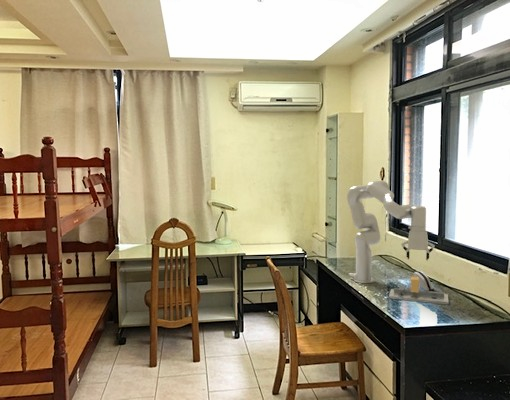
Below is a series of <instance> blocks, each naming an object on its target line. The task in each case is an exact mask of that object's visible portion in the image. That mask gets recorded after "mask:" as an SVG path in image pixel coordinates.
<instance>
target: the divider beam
mask: <svg viewBox="0 0 510 400" xmlns="http://www.w3.org/2000/svg"><path fill="white" fill-rule="evenodd" d="M393 289H394V292H397V293H399V294H400V295H403V294H404V293H407V294H414V292H411V288H409V289H408V288H405V285H403V286H402V285H399V287H394V288H393ZM415 294H417V295H427V296H437V297H444V294H445V292H441V291H432V290H431V291H430V290H428V291H427V290H420V289H419V292H418V293H416V292H415Z"/></svg>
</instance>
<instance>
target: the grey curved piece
mask: <svg viewBox="0 0 510 400" xmlns="http://www.w3.org/2000/svg"><path fill="white" fill-rule="evenodd" d="M413 276H415V277H419V287H421V288H423V289H424V291H430V290H433V291H436V289H435V286H433V285H432V282H431V280H430V277H429V276H427V275H426V273H425V272H423V271H422V270H417V271H415V272H413Z"/></svg>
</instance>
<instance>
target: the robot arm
mask: <svg viewBox="0 0 510 400" xmlns="http://www.w3.org/2000/svg"><path fill="white" fill-rule="evenodd" d="M372 198H375V199H376V200H377V201H378V202H380V203H382V204H383V208H384V209H385V211H386V212H387V213H388V214H389V215H390V216H392V217H394V218H395V219H398V220H405V219H410V218H411V219H410V225H409V226H408V229H409V233H408V240H406V241H404V242H402V243H401V247H402V249H404V251H405V252H406V255H405V257H406V258H407V260H409V259H410V250H417V251H418V250H419V251H425V253H426V257H425V260H426V261H429V259H430V254H431V252H432V251H433V250H434V249H435V244H433V243H431V242H429V239H428V237H429V236H428V231H427V229H426V227H427V226H426V225H427V224H426V223H427V208H426V207H425V206H422V205H414V204H403V205H401V204H398V203H397V202H395V201H394V198H395V194H394V192H393V191H391V190H390V185H389V184H388V182H386V181H385V180H375V181H370V182H369V183H368V184H365V185H364V184H363V185H362V184H361V185H355V186H352V187H350V188H349V189H348V191H347V194H346V200H347V204H348V206H349V209H350V214H351V218H352V223H353V226H354V228H355V229H357V230H361V231H358V232H356V234H355V235H354V245H355V272H354V273H352V272H349V273H348V276H349V277H350V278H352V277H353V279H352V280H353V281H354V282H356V283H359V284H371V283H374V282H375V279H374V278H373V277H372V264H373V263H372V257H373V256H372V250H371V247H370V246H373V245H377V244H379V242H380V241H381V232H380V227H379V224H378V223H379V222H378V219H377V218H376V216H375V215H374V214H373V213H371V212H366V211H365V206H364V204H363V202H362V201H361V200H365V199H372ZM364 229H365V230H364ZM407 244H408V245H407ZM406 245H407V246H408V247H407V246H406ZM429 246H430V248H428V247H429Z"/></svg>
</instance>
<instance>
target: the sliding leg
mask: <svg viewBox="0 0 510 400" xmlns="http://www.w3.org/2000/svg"><path fill="white" fill-rule="evenodd" d="M410 277H411V278H410V289H411V292H414V296H415V292H416V293H418V292H419V290H420V285H419V277H415V276H414V275H412V276H410Z"/></svg>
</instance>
